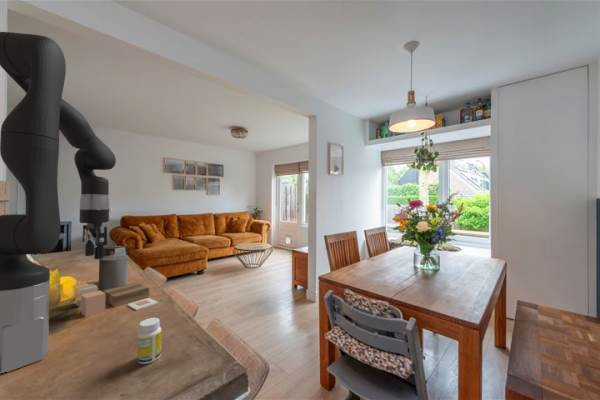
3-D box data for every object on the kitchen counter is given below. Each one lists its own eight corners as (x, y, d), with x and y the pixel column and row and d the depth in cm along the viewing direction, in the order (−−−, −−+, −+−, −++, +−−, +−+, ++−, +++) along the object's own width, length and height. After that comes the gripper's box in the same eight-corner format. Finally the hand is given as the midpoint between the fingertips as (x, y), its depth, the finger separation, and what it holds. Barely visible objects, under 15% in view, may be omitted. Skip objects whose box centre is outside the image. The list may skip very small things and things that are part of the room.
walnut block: (148, 298, 93) (149, 287, 93) (114, 308, 84) (114, 296, 84) (136, 292, 99) (136, 282, 99) (103, 301, 90) (103, 290, 90)
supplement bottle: (156, 349, 60) (157, 314, 60) (164, 357, 57) (165, 320, 57) (134, 359, 56) (134, 322, 56) (141, 367, 53) (141, 329, 53)
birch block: (97, 302, 88) (97, 286, 88) (78, 307, 83) (79, 290, 84) (92, 299, 90) (92, 283, 91) (74, 304, 86) (74, 287, 86)
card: (158, 303, 87) (158, 301, 87) (136, 310, 81) (136, 308, 81) (148, 299, 91) (148, 297, 91) (127, 305, 85) (127, 303, 85)
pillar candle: (92, 292, 97) (93, 255, 98) (117, 284, 107) (117, 250, 107) (109, 295, 94) (110, 257, 95) (133, 287, 104) (134, 252, 104)
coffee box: (128, 280, 112) (128, 246, 113) (114, 285, 106) (114, 248, 107) (113, 279, 115) (113, 245, 115) (98, 283, 109) (99, 247, 109)
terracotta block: (105, 311, 81) (105, 293, 81) (85, 317, 76) (86, 298, 77) (99, 307, 83) (99, 290, 84) (80, 313, 79) (81, 294, 79)
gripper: (73, 208, 82) (72, 256, 81) (87, 208, 74) (86, 262, 73) (100, 208, 88) (100, 253, 87) (117, 208, 80) (116, 257, 80)
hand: (94, 257), depth 80 cm, fingers open, 8 cm apart
